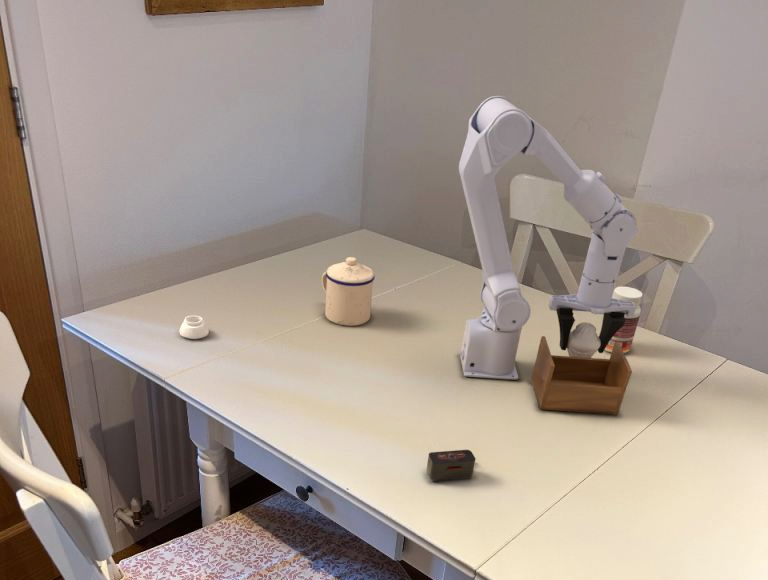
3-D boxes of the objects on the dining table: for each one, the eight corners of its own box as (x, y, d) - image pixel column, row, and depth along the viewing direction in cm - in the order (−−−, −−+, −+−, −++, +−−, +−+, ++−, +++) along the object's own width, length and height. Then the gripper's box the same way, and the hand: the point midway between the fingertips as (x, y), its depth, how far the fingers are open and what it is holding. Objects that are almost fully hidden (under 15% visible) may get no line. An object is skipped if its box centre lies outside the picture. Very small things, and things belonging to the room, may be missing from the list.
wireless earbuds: (478, 478, 111) (482, 460, 109) (430, 483, 109) (433, 464, 107) (467, 460, 114) (471, 441, 112) (421, 463, 112) (423, 445, 111)
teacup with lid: (380, 319, 151) (386, 261, 145) (346, 331, 146) (349, 271, 139) (339, 297, 158) (342, 241, 151) (304, 308, 152) (306, 250, 146)
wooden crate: (617, 414, 129) (632, 371, 123) (539, 409, 128) (551, 365, 122) (605, 383, 136) (618, 341, 130) (531, 378, 135) (541, 335, 129)
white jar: (204, 342, 137) (212, 329, 141) (203, 326, 136) (211, 315, 140) (176, 338, 137) (184, 326, 141) (174, 323, 136) (183, 311, 140)
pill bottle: (636, 351, 149) (653, 295, 143) (614, 357, 146) (630, 301, 140) (612, 337, 153) (627, 283, 147) (590, 343, 150) (604, 288, 144)
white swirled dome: (561, 363, 138) (570, 327, 134) (560, 348, 143) (569, 313, 139) (596, 369, 137) (606, 333, 133) (595, 353, 142) (604, 318, 138)
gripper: (561, 282, 127) (544, 356, 135) (648, 289, 128) (626, 362, 136) (553, 266, 133) (537, 338, 141) (636, 273, 134) (616, 344, 142)
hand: (580, 349), depth 139 cm, fingers closed on white swirled dome, 6 cm apart
